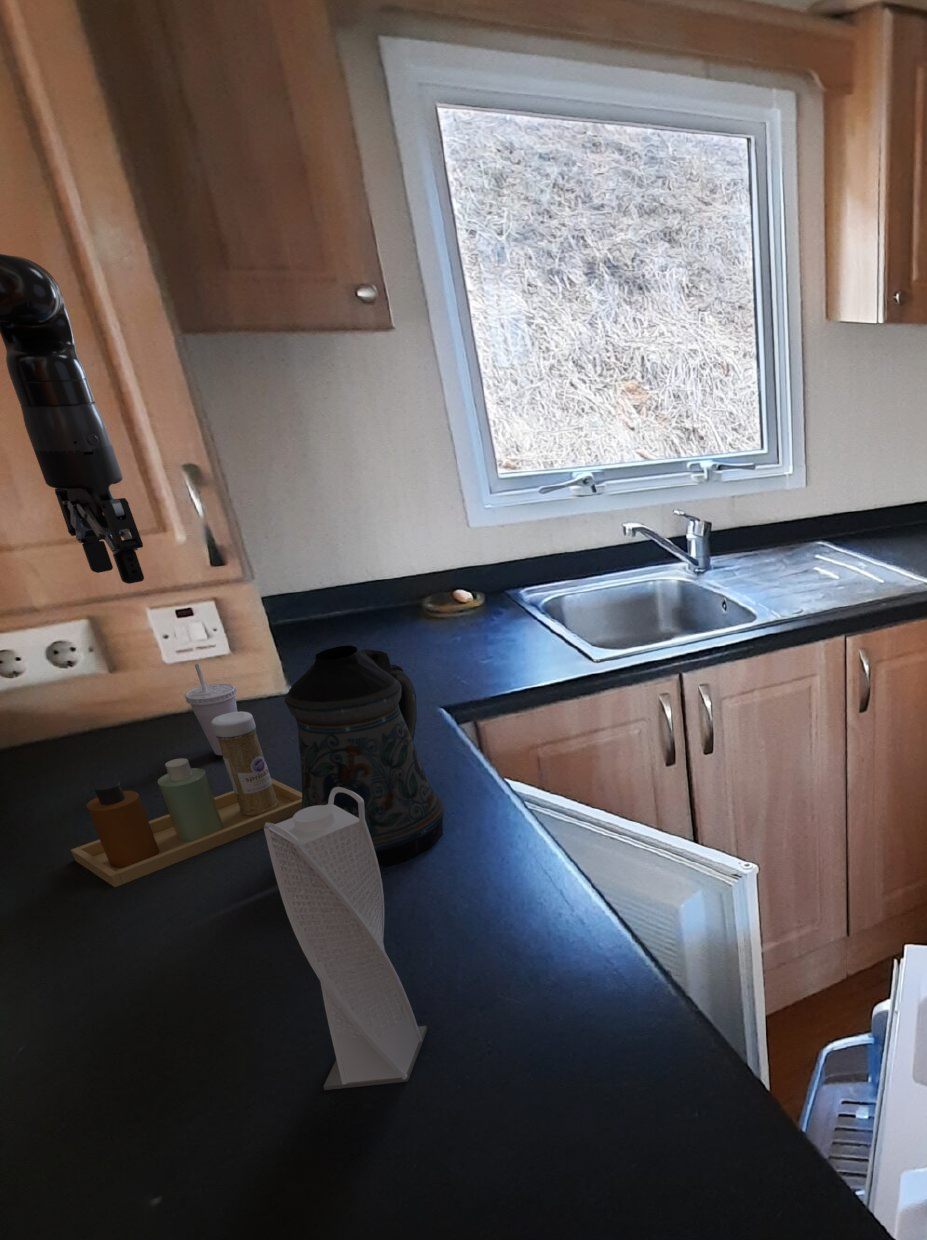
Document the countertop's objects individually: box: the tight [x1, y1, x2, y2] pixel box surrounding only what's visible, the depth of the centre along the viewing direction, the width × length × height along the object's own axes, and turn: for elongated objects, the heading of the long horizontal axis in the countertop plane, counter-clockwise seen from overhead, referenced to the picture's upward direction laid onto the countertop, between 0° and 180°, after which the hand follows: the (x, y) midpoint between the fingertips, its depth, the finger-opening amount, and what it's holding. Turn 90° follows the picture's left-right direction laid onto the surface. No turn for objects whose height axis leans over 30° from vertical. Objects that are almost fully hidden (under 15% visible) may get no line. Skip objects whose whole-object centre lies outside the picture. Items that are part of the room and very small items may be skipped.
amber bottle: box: [86, 780, 159, 868], centre depth 117 cm, size 5×5×10 cm
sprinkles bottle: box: [211, 711, 278, 816], centre depth 128 cm, size 5×5×13 cm
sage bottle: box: [157, 757, 224, 842], centre depth 123 cm, size 5×5×10 cm
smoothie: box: [184, 663, 238, 756], centre depth 145 cm, size 6×6×14 cm
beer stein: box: [284, 645, 445, 869], centre depth 121 cm, size 16×19×25 cm
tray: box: [70, 777, 302, 888], centre depth 125 cm, size 24×11×2 cm, turn 147°
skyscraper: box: [263, 787, 428, 1091], centre depth 84 cm, size 8×8×28 cm
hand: (118, 576), depth 124 cm, fingers open, 8 cm apart
